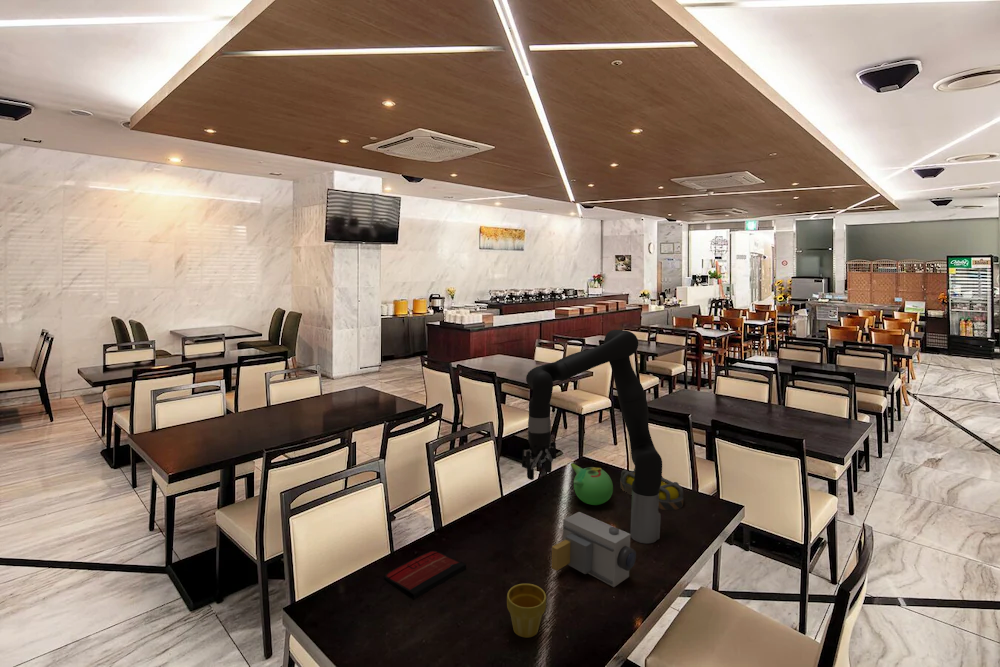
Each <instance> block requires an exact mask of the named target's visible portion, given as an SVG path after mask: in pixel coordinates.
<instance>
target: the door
mask: <svg viewBox="0 0 1000 667" xmlns="http://www.w3.org/2000/svg"><path fill="white" fill-rule="evenodd" d="M566 566H569V567H571V568H573V569H575V570H577V571H578V572H580V573H582V574H584V575H586V574H588V572H590V571H591V570H592V542H590V541H588V540H585V539H583V538H581V537H579V536H577V535H575V534H573V533H571V534H569V535H568V536H566V540H564V541H563V540H562V541H560V542H558V543H556V544H555V545H553V546H552V547H551V569H552V570H554V571H556V572H557V571H559V570H560V569H563V568H564V567H566Z"/></svg>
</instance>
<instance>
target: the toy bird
mask: <svg viewBox="0 0 1000 667" xmlns="http://www.w3.org/2000/svg"><path fill="white" fill-rule="evenodd" d="M570 466H571V468H572V469H573V471H574V472H575V474H576V475H575V476H574V479H573V489H574V492H575V495H576V496H577V498H578V499H579V500H580V501H581V502H583V503H584V504H587V505H590V506H591V505H592V506H599V505H600V506H601V505H602V504H605V503H606V502H608V501H609V500H610V499H611V497H612V495H613V492H614V485H613V481H612V479H611V477H610V475H609V474H608V473H607V472H606V471H605V470H604V469H602V468H601V467H594V466H590V467H585V468H582V467H581V466H578V465H577V464H575V463H573V462H571V463H570Z"/></svg>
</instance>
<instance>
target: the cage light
mask: <svg viewBox="0 0 1000 667" xmlns="http://www.w3.org/2000/svg"><path fill="white" fill-rule="evenodd" d="M634 476H635V467H634V468H633V470H631V471H628V470H626V469H623V470H621V472H620V478H619V488H620V490H621V489H622V490H621V491H623V492H624V491H625V492H624V493H626V492H627V493H626V494H628V495H629V496H631V495H632V483H633V481H634ZM682 507H684V488H683V487H682V485H680V484H679V483H678V482H677V481H674V482H673V481H671V480H668V479H667V478H664V477H663V476H662V479H661V486H660V488H659V506H658V510H664V511H676V510H679V509H681V508H682Z"/></svg>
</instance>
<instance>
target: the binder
mask: <svg viewBox="0 0 1000 667" xmlns="http://www.w3.org/2000/svg"><path fill="white" fill-rule="evenodd" d="M465 570H467V563H465V562H462V561H460V560H458V559H456V558H454V557H451V556H448V555H446V554H444V553H442V552H440V551H437V550H429V551H428V552H426V553H423V554H421V555H418V556H415V557H414V558H412V559H410V560H408V561H407V562H404V563H402V564H400V565H399V566H396V567H395V568H393V569H391V570H389V571H387V572H386V573H385V574H384V580H385V581H387V582H388V583H389V584H391V585H392V586H394V587H395V588H397V589H398V591H401V592H402V593H404V594H406V595H408V593H410V594H412V595H413V600H416V599H417V598H420V596H423V595H424V594H426V593H428V592H429V591H431V590H432V589H434V588H437V587H438V586H439V585H441V584H442V583H445V582H447V581H448V580H449V579H451V578H453V577H454V576H457V575H458V574H460V573H462V572H464V571H465Z"/></svg>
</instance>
